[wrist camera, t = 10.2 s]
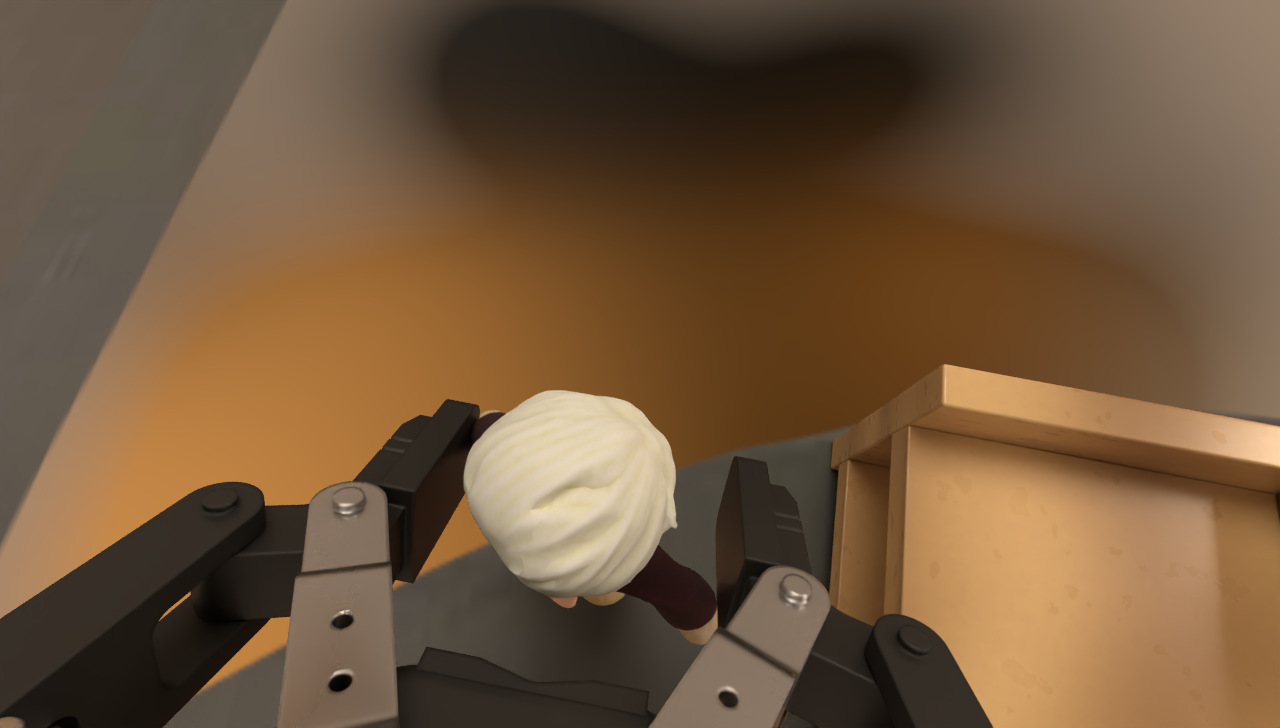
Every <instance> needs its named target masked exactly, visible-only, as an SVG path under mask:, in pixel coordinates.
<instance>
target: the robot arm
mask: <svg viewBox="0 0 1280 728" xmlns="http://www.w3.org/2000/svg"><path fill="white" fill-rule="evenodd" d="M479 418H480V409H479V406H478V405H475V404H470V403H465V402H459V401H454V400H449V399H447V400H446V401H445V402H444V403H443V404H442V406H441V407H440V408H439V409H438V411H437V412H436V413H435V414H434V415H433V417H428V416H423V415H419V416H418V417H416V418H413V419H412V420H410V421H408V422H406V423H404V424H402V425H401V426H400V427H399V429H398V430H397V431H396V432H395V433H394V434H393V435H392V437H391V439H389V440H388V441H387V443H386V444H385V445H384V446H383V448H382V450H379V452H378V453H377V454H376V455H375V456H374V457H373V458H372V460H371V461H370V462H369V463H368V464H367V465H366V467H365V468H364V469H363V470H362V471H361V472H360V473H359V474H358V476H357V477H356V478H355V479H354V480H353V481H349V482H342V483H338V484H334V485H331V486H329V487H326V488H324V489H323V490H321V491H320V492H318V493H317V494H316V495H315V496H314V497H313V498H312V500H311V501H310V504H305V505H278V506H265V502H264V495H263V493H262V491H261V490H260V489H259V488H257V487H255V486H253V485H251V484H247V483H242V482H224V483H217V484H213V485H209V486H206V487H203V488H200V489H198V490H196V491H194V492H192V493H190V494H188V495H187V496H185V497H184V498H182V499H181V500H179V501H178V502H176V503H175V504H173V505H172V506H170V507H169V508H167V509H166V510H164V511H163V512H161V513H160V514H158V515H157V516H155V517H154V518H152V519H151V520H149V521H148V522H146V523H144V524H143V525H141V526H140V527H139V528H137V529H135V530H134V531H132V532H131V533H130V534H128V535H127V536H125V537H123V538H122V539H120V540H119V541H117V542H116V543H114V544H113V545H111V546H110V547H108V548H107V549H105V550H104V551H102V552H101V553H99V554H98V555H96V556H95V557H93V558H92V559H90V560H89V561H87V562H86V563H84V564H82V565H81V566H80V567H78V568H77V569H75V570H73V571H72V572H70V573H69V574H67V575H66V576H64V577H63V578H61V579H60V580H58V581H57V582H55V583H54V584H52V585H51V586H49V587H48V588H46V589H45V590H43V591H42V592H40V593H39V594H37V595H36V596H34V597H33V598H31V599H29V600H28V601H26V602H25V603H23V604H22V605H20V606H19V607H18V608H16V609H14V610H13V611H11V612H10V613H8V614H7V615H5V616H4V617H2V618H1V619H0V728H163V727H164V726H165V725H166V723H167V722H168V721H169V720H170V719H171V718H172V717H173V716H174V715H175V714H176V713H177V712H178V711H179V710H180V709H181V708H182V707H183V706H184V705H185V704H186V703H187V702H188V701H189V700H190V699H191V698H192V697H193V696H194V695H195V694H196V693H197V692H198V691H199V690H200V689H201V688H202V687H203V686H204V685H205V684H206V683H207V682H208V681H209V680H210V679H211V678H212V677H213V676H214V675H215V674H216V673H217V672H218V671H219V670H220V669H221V668H222V667H223V666H224V665H225V664H226V663H227V662H228V661H229V660H230V659H231V658H232V657H233V656H234V655H235V654H236V653H237V652H238V651H239V650H240V649H241V648H242V647H243V646H244V645H245V644H246V643H247V642H248V641H249V640H250V639H251V638H252V637H253V636H254V635H255V634H256V633H257V632H258V631H259V630H260V629H261V628H262V627H263V626H264V625H265V624H266V623H267V622H268V621H269V620H270V618H278V617H290V624H289V632H288V640H287V648H286V656H285V664H284V672H283V680H282V688H281V696H280V704H279V712H278V720H277V727H276V728H781V727H782V725H783V723H784V721H785V719H786V717H787V714H788V712H791V713H792V714H794V715H796V716H798V717H800V718H802V719H804V720H806V721H808V722H810V723H812V724H814V725H816V726H818V727H820V728H994V727H993V726H992V724H991V722H990V720H989V719H988V717H987V715H986V713H985V711H984V710H983V708H982V706H981V704H980V703H979V701H978V699H977V697H976V696H975V694H974V692H973V690H972V689H971V687H970V685H969V683H968V681H967V680H966V678H965V676H964V674H963V673H962V671H961V669H960V667H959V666H958V664H957V662H956V660H955V658H954V657H953V655H952V653H951V651H950V650H949V648H948V646H947V645H946V643H945V642H944V641H943V639H942V638H941V637H940V636H939V635H938V634H937V633H936V632H935V631H933V630H932V629H931V628H930V627H928V626H927V625H925V624H924V623H922V622H920V621H918V620H916V619H914V618H911V617H908V616H905V615H900V614H887V615H884V616H882V617H880V618H879V619H878V620H877V621H876V622H875V625H874V627H873V626H871V625H869V624H867V623H864V622H862V621H860V620H858V619H855V618H853V617H851V616H849V615H847V614H845V613H843V612H841V611H840V610H838V609H836V608H835V607H834V606H833V605H831V599H830V595H829V593H828V591H827V590H826V588H825V587H824V586H823V584H822V583H821V582H820V581H819V580H818V579H816V578H815V577H814V576H812V572H811V567H810V563H809V558H808V553H807V549H806V544H805V539H804V535H803V533H802V525H801V521H799V520H800V516H799V511H798V507H797V502H796V501H795V500H794V498H793V497H792V496H791V494H790V493H789V492H788V491H787V489H786V488H785V487H782V486H777V485H772V484H770V481H769V475H768V469H767V464H766V462H763V461H758V460H753V459H748V458H743V457H738V456H735V457H734V459H733V461H732V464H731V468H730V472H729V475H728V479H727V482H726V486H725V490H724V493H723V497H722V501H721V504H720V508H719V512H718V517H717V524H716V574H717V618H718V628H717V629H716V630H715V632H714V633H713V634H712V636H711V637H710V639H709V640H708V642H707V643H706V644H705V646H704V647H703V649H702V650H701V652H700V653H699V655H698V656H697V658H696V659H695V661H694V662H693V663H692V665H691V666H690V668H689V669H688V671H687V672H686V674H685V675H684V677H683V678H682V680H681V681H680V682H679V684H678V685H677V687H676V688H675V690H674V691H673V693H672V694H671V696H670V697H669V698H668V700H667V701H666V703H665V704H664V706H663V707H662V709H661V710H660V712H659V713H658V715H655V714H653V713H651V712H649V711H647V705H648V694H649V691H644V690H639V689H634V688H629V687H624V686H619V685H614V684H609V683H604V682H599V681H594V680H593V681H562V682H533V681H530V680H527V679H525V678H523V677H521V676H519V675H517V674H515V673H512V672H510V671H508V670H506V669H504V668H502V667H500V666H498V665H495V664H493V663H491V662H489V661H487V660H485V659H483V658H480V657H475V656H470V655H465V654H460V653H455V652H450V651H445V650H440V649H435V648H430V647H426V649H425V651H424V653H423V655H422V657H421V659H420V661H419V663H418V665H407V666H400V667H396V652H395V630H394V609H393V587H392V585H393V583H394V581H395V580H399V581H404V582H409V583H413V582H414V581H415V579H416V577H417V576H418V574H419V572H420V570H421V569H422V567H423V565H424V563H425V561H426V560H427V558H428V556H429V554H430V553H431V551H432V549H433V548H434V546H435V544H436V542H437V541H438V539H439V537H440V536H441V534H442V532H443V530H444V529H445V527H446V525H447V524H448V522H449V520H450V518H451V516H452V515H453V513H454V511H455V510H456V508H457V506H458V504H459V503H460V501H461V499H462V498H463V496H464V494H465V490H464V470H465V465H466V461H467V457H468V454H469V452H470V450H471V448H472V442H471V433H472V429H473V426H474V423H475V422H476V421H477V420H478V419H479ZM190 591H191V595H190V596H189V597H188V598H187V599H185V600H184V601H183V602H182V603H180V604H179V605H178V606H177V607H176V608H175V609H173V610H172V611H171V612H170V613H169V614H167V615H166V616H165V617H164V618H162V619H161V620H160V618H161V617H162V616H163V614H164V613H165V612H166V611H167V610H168V609H169V608H171V606H173V605H174V604H175V603H176V602H178V601H179V600H180V599H181V598H183V597H184V596H185V595H186V594H188V592H190ZM159 620H160V621H159ZM158 621H159V622H158Z"/></svg>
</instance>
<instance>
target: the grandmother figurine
mask: <svg viewBox="0 0 1280 728" xmlns="http://www.w3.org/2000/svg"><path fill="white" fill-rule="evenodd" d="M471 442H472V448H471V450H470V452H469V454H468V457H467V461H466V465H465V470H464V490H465V493H466V497H467V499H468V504H469V507H470V510H471V513H472V516H473V518H474V520H475V521H476V523H477V524H478V526H479V527H480V529H481V531H482V533H483V535H484V536H485V538H486V539H487V540H488V541H489V542H490V544H491V545H492V546H493V547H494V549H495V550H496V552H497V554H498V555H499V557H500V559H501V560H502V561H503V563H504V564H505V565H506V567H507V568H508V569H509V570H510V571H511V572H512V573H513V574H515V575H516V576H517V578H518V579H519V580H520V581H521V582H522V583H523V584H524V585H526V586H528V587H529V588H531V589H534V590H535V591H537V592H540V593H543V594H545V595H546V596H548V597H550V598H551V599H552V600H553V601H554V602H556V603H557V604H559V605H560V606H562V607H565V608H571V607H573V606H575V604H576V601H577V598H578V596H582V597H583V598H585V599H586V600H587V601H589V602H591V603H593V604H596V605H610V604H613V603H616V602H617V601H619V600H620V599H621V598H622V597H623V596H624V595H625V594H627V595H631V596H634V597H637V598H640V599H642V600H643V601H646V602H649V603H651V604H652V605H653V606H655V608H656V609H657V611H658V612H659V613H660V614H661V615H662V616H663V618H664V619H665V620H666V621H667V622H668V623H669V624H671V625H672V626H674V627H675V628H677V629H678V630H680V632H681V633H682V635H683V636H684V637H685V638H686V639H687V640H688V641H690V642H692V643H695V644H701V645H704V644H706V643H707V642H708V640H709V639H710V637H711V636H712V634H713V633H714V632H715V630H716V629H717V628H718V618H717V601H716V597H715V594H714V591H713V590H712V588H711V587H710V586H709V584H708V583H707V582H706V581H705V580H704V579H703V578H702V577H701V576H700V575H699V574H698V573H696V572H695V571H693V570H691V569H690V568H687V567H684V566H682V565H680V564H678V563H677V562H675V561H674V560H673V559H672V558H671V557H670V556H669V555H668V554H667V553H666V552H665V551H664V550H663V549H662V548H661V547H660V546H659V545H658V544H659V541H660V538H661V536H662V534H663V533H664V532H665V531H667V530H668V529H669V528H671V527H673V528H675V529H676V527H677V523H676V510H675V504H674V498H673V494H674V488H675V483H676V469H675V464H674V461H673V458H672V452H671V448H670V445H669V443H668V441H667V440H666V438H665V437H664V435H663V434H661V433H660V432H659V431H658V430H657V429H655V427H654V426H653V425H652V424H651V423H650V422H649V420H648V419H647V418H646V416H645V415H644V414H643V413H642V412H641V411H640V410H639V409H637V408H636V407H634V406H633V405H632V404H631V403H629V402H627V401H623V400H620V399H616V398H612V397H605V396H593V395H589V394H583V393H578V392H569V391H564V390H563V391H546V392H542V393H539V394H537V395H535V396H533V397H531V398H530V399H528V400H526V401H524V402H523V403H521V404H520V405H519V406H518V407H516V408H515V409H514V410H512V411H510V412H508V413H507V414H506V413H503V412H501V411H498V410H489V411H486V412H483V413H482V414H480V418H479V419H478V420H477V421H476V422H475V423H474V426H473V429H472V433H471Z"/></svg>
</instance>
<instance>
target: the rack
mask: <svg viewBox="0 0 1280 728" xmlns="http://www.w3.org/2000/svg"><path fill="white" fill-rule="evenodd" d="M831 469H833V470H839V473H838V486H837V499H836V513H835V526H834V539H833V553H832V566H831V579H830V592H829V595H830V599H831V605H833V606H834V607H835V608H836V609H838V610H840V611H841V612H843V613H845V614H847V615H849V616H851V617H853V618H855V619H858V620H860V621H862V622H864V623H867V624H869V625H871V626H873V627H874V625H875V622H876V621H877V620H878V619H879V618H880V617H882V616H884V615H887V614H900V615H905V616H908V617H911V618H914V619H916V620H918V621H920V622H922V623H924V624H925V625H927V626H928V627H930V628H931V629H932V630H933V631H935V632H936V633H937V634H938V635H939V636H940V637H941V638H942V639H943V641H944V642H945V643H946V645H947V646H948V648H949V650H950V651H951V653H952V655H953V657H954V658H955V660H956V662H957V664H958V666H959V667H960V669H961V671H962V673H963V674H964V676H965V678H966V680H967V681H968V683H969V685H970V687H971V689H972V690H973V692H974V694H975V696H976V697H977V699H978V701H979V703H980V704H981V706H982V708H983V710H984V711H985V713H986V715H987V717H988V719H989V720H990V722H991V724H992V726H993V727H994V728H1280V426H1274V425H1269V424H1264V423H1258V422H1253V421H1247V420H1242V419H1237V418H1231V417H1226V416H1221V415H1215V414H1210V413H1204V412H1199V411H1194V410H1188V409H1183V408H1178V407H1172V406H1167V405H1161V404H1156V403H1151V402H1145V401H1140V400H1135V399H1129V398H1123V397H1118V396H1113V395H1108V394H1102V393H1097V392H1091V391H1086V390H1081V389H1075V388H1070V387H1064V386H1059V385H1054V384H1049V383H1043V382H1038V381H1032V380H1027V379H1022V378H1016V377H1011V376H1005V375H1000V374H995V373H989V372H984V371H979V370H973V369H967V368H963V367H957V366H951V365H946V364H945V365H942V366H940V367H939V368H937V369H936V370H935V371H933V372H932V373H930V374H929V375H927V376H926V377H924V378H923V379H921V380H920V381H919V382H917V383H916V384H914V385H913V386H911V387H910V388H908V389H907V390H906V391H904V392H903V393H901V394H900V395H898V396H897V397H895V398H894V399H893V400H891V401H890V402H888V403H887V404H885V405H884V406H882V407H881V408H880V409H878V410H877V411H875V412H874V413H872V414H871V415H869V416H868V417H867V418H865V419H864V420H862V421H861V422H859V423H858V424H856V425H855V426H854V427H852V428H851V429H849V430H848V431H846V432H845V433H843V434H842V435H840V436H839V437H838V438H836V439H835V440H834V441H833V447H832V459H831ZM819 728H820V727H819Z"/></svg>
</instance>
